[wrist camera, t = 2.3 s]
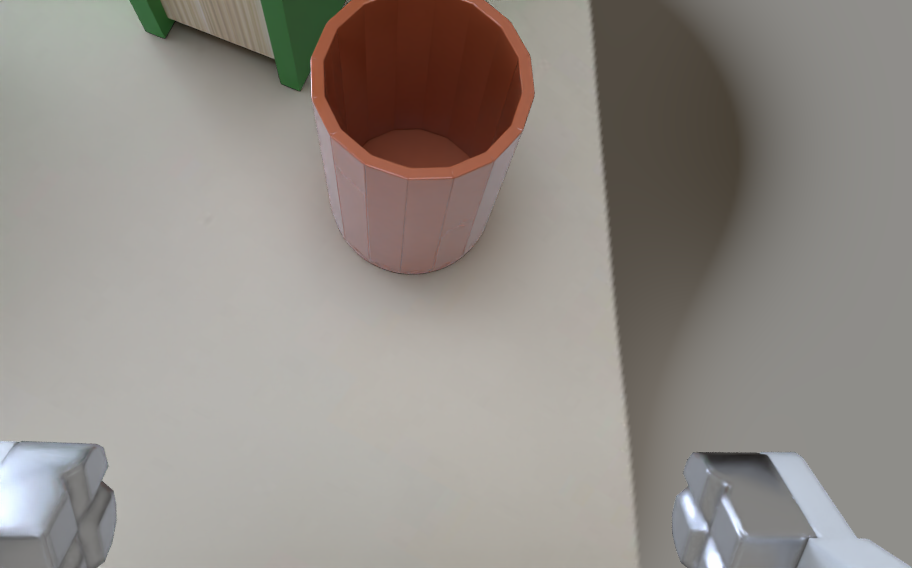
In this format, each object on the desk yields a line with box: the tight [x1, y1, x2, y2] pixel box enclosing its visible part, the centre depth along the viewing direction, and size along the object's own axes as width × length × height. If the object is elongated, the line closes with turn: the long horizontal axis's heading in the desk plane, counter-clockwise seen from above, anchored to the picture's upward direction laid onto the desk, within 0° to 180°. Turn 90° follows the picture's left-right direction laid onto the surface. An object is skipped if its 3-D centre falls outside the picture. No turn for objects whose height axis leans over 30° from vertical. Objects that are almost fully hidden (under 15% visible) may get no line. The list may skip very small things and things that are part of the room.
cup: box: [310, 0, 535, 274], centre depth 28 cm, size 7×7×10 cm
